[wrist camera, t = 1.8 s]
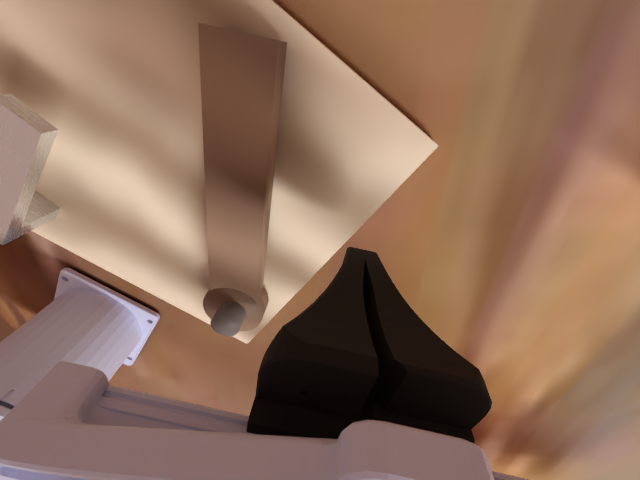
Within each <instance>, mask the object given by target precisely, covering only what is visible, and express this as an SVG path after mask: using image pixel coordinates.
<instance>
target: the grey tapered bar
mask: <svg viewBox="0 0 640 480" xmlns="http://www.w3.org/2000/svg"><path fill="white" fill-rule="evenodd" d="M198 33H199V56H200V79H201V103H202V126H203V149H204V172H205V196H206V219H207V242H208V265H209V290H208V292H207V293H206V295H205V297H204V299H203V308H204V311H205V313H206V314H207V315H208V317H209V318H210V319H211V322H210V324H211V327H212V328H213V330H215V331H216V332H217V333H219V334H221V335H224V336H234V335H236V334H237V333H238V332H239V331H249V330H252V329H254V328H256V327H257V326H258V325H259V324H260V323H261V321H262V318H263V316H264V313H265V310H266V308H267V305H268V301H269V297H268V293H267V291H266V289H265V288H264V286H263V280H264V270H265V260H266V250H267V240H268V230H269V220H270V210H271V200H272V190H273V180H274V170H275V159H276V149H277V139H278V129H279V119H280V109H281V99H282V89H283V79H284V69H285V59H286V49H287V42H283V41H279V40H274V39H270V38H265V37H261V36H256V35H252V34H247V33H243V32H239V31H234V30H230V29H225V28H221V27H216V26H212V25H207V24H203V23H198Z"/></svg>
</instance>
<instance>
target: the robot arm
mask: <svg viewBox="0 0 640 480" xmlns="http://www.w3.org/2000/svg"><path fill="white" fill-rule="evenodd" d="M159 318H160V316H159V314H158V313H157V312H155V311H153V310H151V309H149V308H147V307H145V306H143V305H141V304H139V303H137V302H135V301H133V300H131V299H129V298H127V297H125V296H123V295H121V294H120V293H118V292H116V291H114V290H112V289H110V288H108V287H106V286H104V285H102V284H100V283H98V282H96V281H94V280H92V279H90V278H88V277H86V276H84V275H82V274H80V273H78V272H77V271H75V270H73V269H70V268H63V269H62V270H61V271H60V273H59V278H58V283H57V288H56V292H55V297H54V301H52V302H51V303H50V304H49V305H47V306H46V307H45V308H44V309H42V310H41V311H40V312H38V313H37V314H36V315H35V316H33V317H32V318H31V319H30V320H28V321H27V322H26V323H25V324H23V325H22V326H21V327H19V328H18V329H17V330H16V331H14V332H13V333H12V334H11V335H9V336H8V337H7V338H6V339H4V340H3V341H2V342H1V343H0V480H529V479H524V478H520V477H515V476H511V475H506V474H502V473H498V472H493V471H492V470H491V467H490V464H489V461H488V458H487V455H486V454H485V453H484V451H483V450H482V449H481V447H479V446H478V445H476V444H474V437H473V434H472V430H471V429H472V428H473V427H474V426H475V425H476V424H477V423H478V422H479V421H481V420H482V419H483V418H484V417H485V416H486V414H487V413H488V412H489V410H490V409H491V404H492V401H491V399H490V396H489V393H488V390H487V387H486V384H485V382H484V380H483V377H482V375H481V373H480V371H479V369H478V368H476V367H475V366H474V365H472V364H471V363H470V362H468V361H467V360H466V359H464V358H463V357H462V356H460V355H459V354H458V353H456V352H455V351H454V350H453V349H452V348H451V347H449V346H448V345H447V344H446V343H445V342H444V341H442V340H441V339H440V338H439V337H438V336H437V335H436V334H435V333H434V332H433V331H432V330H431V329H430V328H429V327H428V326H427V325H426V324H425V323H424V322H423V321H422V320H421V319H420V318H419V317H418V316H417V315H416V313H415V312H414V311H413V310H412V309H411V307H410V306H409V305H408V304H407V302H406V301H405V300H404V298H403V297H402V296H401V294H400V293H399V291H398V290H397V288H396V287H395V285H394V284H393V282H392V280H391V279H390V277H389V275H388V274H387V272H386V270H385V268H384V266H383V264H382V263H381V261H380V259H379V257H378V255H377V253H375V252H371V251H367V250H362V249H358V248H353V247H349V248H347V250H346V254H345V257H344V261H343V264H342V266H341V268H340V270H339V272H338V273H337V275H336V276H335V278H334V279H333V281H332V282H331V283H330V285H329V286H328V287H327V289H326V290H325V291H324V292H323V293H322V294H321V295H320V296H319V298H318V299H317V300H316V301H315V302H314V303H313V304H312V305H310V306H309V307H308V308H307V309H306V310H305V311H303V312H302V313H301V314H300V315H298V316H297V317H296V318H294V319H293V320H291V321H290V322H288V323H287V324H285V325H284V326H283V327H282V328H281V330H280V331H279V332H278V334H277V335H276V336H275V338H274V339H273V341H272V342H271V344H270V346H269V347H268V349H267V351H266V353H265V355H264V357H263V360H262V363H261V366H260V370H259V373H258V380H257V389H256V396H255V400H254V403H253V406H252V409H251V412H250V416H245V415H240V414H236V413H231V412H227V411H223V410H218V409H214V408H209V407H205V406H200V405H196V404H192V403H187V402H183V401H178V400H174V399H169V398H165V397H160V396H156V395H152V394H147V393H143V392H138V391H134V390H129V389H125V388H121V387H116V386H112V385H109V383H108V381H109V380H110V379H111V377H112V376H113V375H114V374H115V372H116V371H117V370H118V368H119V367H120V366H121V365H122V363H123V364H125V365H128V366H130V365H132V364H133V363H134V361H135V360H136V358H137V356H138V354H139V353H140V351H141V349H142V348H143V346H144V344H145V342H146V341H147V339H148V337H149V336H150V334H151V332H152V330H153V329H154V327H155V325H156V324H157V322H158V320H159Z"/></svg>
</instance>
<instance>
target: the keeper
mask: <svg viewBox="0 0 640 480" xmlns="http://www.w3.org/2000/svg"><path fill="white" fill-rule="evenodd" d="M57 132H58V129H57V128H56V127H54V126H53V125H52V124H50V123H49V122H48V121H46V120H45V119H44V118H43V117H41V116H40V115H39V114H37V113H36V112H35V111H33V110H32V109H31V108H29V107H28V106H27V105H25V104H24V103H23V102H22V101H20V100H19V99H18V98H16V97H15V96H14V95H12V94H1V95H0V244H1V245H4V244H6V243H8V242H10V241H12V240H14V239H16V238H18V237H20V236H22V235H23V234H25V233H27V232H29V231H31V230H33V229H35V228H37V227H39V226H41V225H43V224H45V223H46V222H48V221H50V220H52V219H54V218H56V217H57V215H58V212H59V210H60V207H58V206H57V205H55V204H54V203H52V202H51V201H49V200H48V199H46V198H45V197H43V196H42V195H40V194H39V193H38V192H36V191H35V190H36V187H37V185H38V182H39V179H40V177H41V174H42V172H43V169H44V166H45V164H46V161H47V158H48V156H49V153H50V151H51V148H52V145H53V143H54V140H55V138H56V135H57Z"/></svg>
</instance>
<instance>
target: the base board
mask: <svg viewBox="0 0 640 480" xmlns="http://www.w3.org/2000/svg"><path fill="white" fill-rule="evenodd" d="M198 23H203V24H207V25H212V26H216V27H221V28H225V29H230V30H234V31H239V32H243V33H247V34H252V35H256V36H261V37H265V38H270V39H274V40H279V41H283V42H287V49H286V59H285V69H284V79H283V89H282V99H281V109H280V119H279V129H278V139H277V149H276V159H275V170H274V180H273V190H272V200H271V210H270V220H269V230H268V240H267V250H266V260H265V270H264V280H263V286H264V288H265V289H266V291H267V293H268V297H269V301H268V305H267V308H266V310H265V313H264V316H263V318H262V321H261V323H260V324H259V325H258V326H257V327H256V328H254V329H252V330H249V331H239V332H238V333H237V334H236V335H234V336H233V337H235V338H236V339H238V340H240V341H242V342H244V343H246V344H248V343H249V342H250V341H251V340H252V338H253V337H254V336H255V335H256V334H257V333H258V332H259V331H260V330H261V329H262V328H263V327H264V326H265V325H266V324H267V323H268V322H269V321H270V320H271V319H272V318H273V317H274V316H275V315H276V314H277V313H278V312H279V311H280V309H281V308H282V307H283V306H284V305H285V304H286V303H287V302H288V301H289V300H290V299H291V298H292V297H293V296H294V295H295V294H296V293H297V292H298V291H299V290H300V289H301V288H302V287H303V286H304V285H305V284H306V283H307V282H308V281H309V279H310V278H311V277H312V276H313V275H314V274H315V273H316V272H317V271H318V270H319V269H320V268H321V267H322V266H323V265H324V264H325V263H326V262H327V261H328V260H329V259H330V258H331V257H332V256H333V255H334V254H335V253H336V252H337V250H338V249H339V248H340V247H341V246H342V245H343V244H344V243H345V242H346V241H347V240H348V239H349V238H350V237H351V236H352V235H353V234H354V233H355V232H356V231H357V230H358V229H359V228H360V227H361V226H362V225H363V224H364V223H365V221H366V220H367V219H368V218H369V217H370V216H371V215H372V214H373V213H374V212H375V211H376V210H377V209H378V208H379V207H380V206H381V205H382V204H383V203H384V202H385V201H386V200H387V199H388V198H389V197H390V196H391V195H392V194H393V193H394V191H395V190H396V189H397V188H398V187H399V186H400V185H401V184H402V183H403V182H404V181H405V180H406V179H407V178H408V177H409V176H410V175H411V174H412V173H413V172H414V171H415V170H416V169H417V168H418V167H419V166H420V165H421V164H422V162H423V161H424V160H425V159H426V158H427V157H428V156H429V155H430V154H431V153H432V152H433V151H434V150H435V149H436V148H437V147H438V145H437V144H436V142H435V141H434V140H433V139H431V138H430V137H429V136H428V135H427V134H426V133H425V132H423V131H422V130H421V129H420V128H419V127H418V126H417V125H415V124H414V123H413V122H412V121H411V120H410V119H409V118H407V117H406V116H405V115H404V114H403V113H402V112H400V111H399V110H398V109H397V108H396V107H395V106H394V105H392V104H391V103H390V102H389V101H388V100H387V99H386V98H384V97H383V96H382V95H381V94H380V93H379V92H378V91H376V90H375V89H374V88H373V87H372V86H371V85H370V84H368V83H367V82H366V81H365V80H364V79H363V78H362V77H360V76H359V75H358V74H357V73H356V72H355V71H354V70H352V69H351V68H350V67H349V66H348V65H347V64H346V63H344V62H343V61H342V60H341V59H340V58H339V57H338V56H336V55H335V54H334V53H333V52H332V51H331V50H329V49H328V48H327V47H326V46H325V45H324V44H323V43H321V42H320V41H319V40H318V39H317V38H316V37H315V36H313V35H312V34H311V33H310V32H309V31H308V30H307V29H305V28H304V27H303V26H302V25H301V24H300V23H299V22H297V21H296V20H295V19H294V18H293V17H292V16H291V15H289V14H288V13H287V12H286V11H285V10H284V9H283V8H281V7H280V6H279V5H278V4H277V3H276V2H275V1H273V0H0V95H1V94H12V95H14V96H15V97H16V98H18V99H19V100H20V101H22V102H23V103H24V104H25V105H27V106H28V107H29V108H31V109H32V110H33V111H35V112H36V113H37V114H39V115H40V116H41V117H43V118H44V119H45V120H46V121H48V122H49V123H50V124H52V125H53V126H54V127H56V128H57V129H58V132H57V135H56V138H55V140H54V143H53V145H52V148H51V151H50V153H49V156H48V158H47V161H46V164H45V166H44V169H43V172H42V174H41V177H40V179H39V182H38V185H37V187H36V190H35V191H36V192H38V193H39V194H40V195H42V196H43V197H45V198H46V199H48V200H49V201H51V202H52V203H54V204H55V205H57V206H58V207H60V210H59V212H58V215H57V217H56V218H54V219H52V220H50V221H48V222H46V223H45V224H43V225H41V226H39V227H37V228H35V229H33V230H31V231H33V232H35V233H37V234H38V235H40V236H42V237H44V238H46V239H48V240H50V241H52V242H54V243H56V244H58V245H59V246H61V247H63V248H65V249H67V250H69V251H71V252H73V253H75V254H77V255H78V256H80V257H82V258H84V259H86V260H88V261H90V262H92V263H94V264H96V265H98V266H99V267H101V268H103V269H105V270H107V271H109V272H111V273H113V274H115V275H117V276H118V277H120V278H122V279H124V280H126V281H128V282H130V283H132V284H134V285H136V286H137V287H139V288H141V289H143V290H145V291H147V292H149V293H151V294H153V295H155V296H157V297H158V298H160V299H162V300H164V301H166V302H168V303H170V304H172V305H174V306H176V307H177V308H179V309H181V310H183V311H185V312H187V313H189V314H191V315H193V316H195V317H197V318H198V319H200V320H202V321H204V322H206V323H208V324H210V322H211V319H210V318H209V317H208V315H207V314H206V313H205V311H204V308H203V299H204V297H205V295H206V293H207V292H208V290H209V265H208V242H207V219H206V196H205V172H204V149H203V126H202V103H201V79H200V56H199V33H198ZM210 325H211V324H210Z"/></svg>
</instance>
